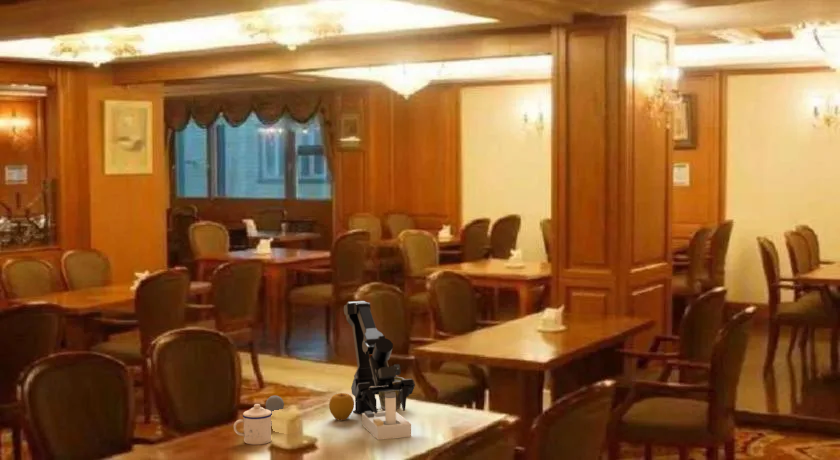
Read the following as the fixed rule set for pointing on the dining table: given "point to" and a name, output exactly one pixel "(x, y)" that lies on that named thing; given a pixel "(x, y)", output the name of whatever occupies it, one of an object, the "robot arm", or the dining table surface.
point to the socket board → (385, 426)
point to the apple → (341, 406)
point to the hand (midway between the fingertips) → (390, 411)
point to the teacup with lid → (256, 425)
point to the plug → (390, 408)
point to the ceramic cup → (382, 394)
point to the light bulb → (274, 403)
